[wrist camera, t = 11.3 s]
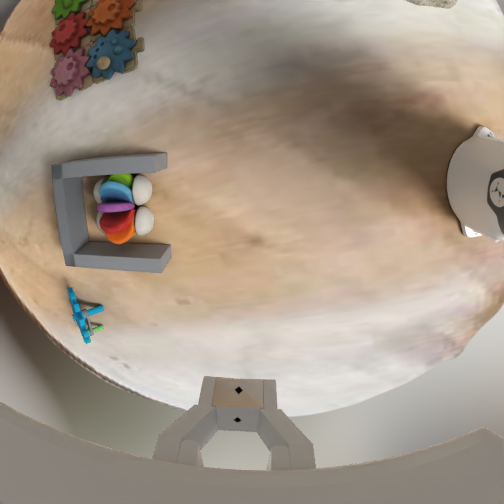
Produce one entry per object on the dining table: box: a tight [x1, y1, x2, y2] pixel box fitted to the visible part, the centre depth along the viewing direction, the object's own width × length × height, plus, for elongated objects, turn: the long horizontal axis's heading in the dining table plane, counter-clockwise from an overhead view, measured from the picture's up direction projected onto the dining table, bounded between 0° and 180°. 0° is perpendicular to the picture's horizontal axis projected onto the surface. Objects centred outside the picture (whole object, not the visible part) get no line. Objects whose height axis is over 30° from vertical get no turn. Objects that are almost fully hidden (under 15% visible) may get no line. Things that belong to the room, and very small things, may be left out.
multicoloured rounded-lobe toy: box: [93, 174, 154, 244], centre depth 35 cm, size 8×10×7 cm
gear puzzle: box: [50, 0, 144, 100], centre depth 24 cm, size 31×16×4 cm, turn 7°
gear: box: [68, 287, 104, 344], centre depth 43 cm, size 11×6×10 cm
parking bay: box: [52, 153, 172, 273], centre depth 36 cm, size 16×15×5 cm
